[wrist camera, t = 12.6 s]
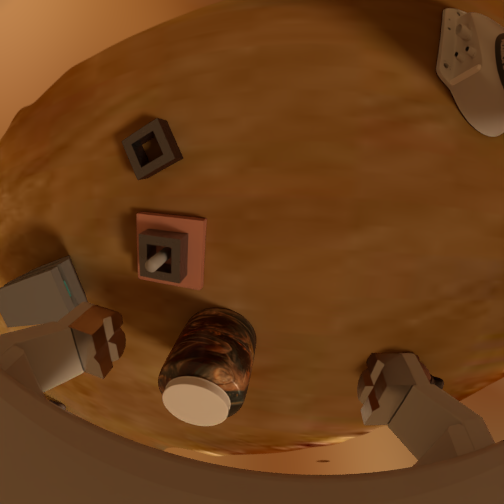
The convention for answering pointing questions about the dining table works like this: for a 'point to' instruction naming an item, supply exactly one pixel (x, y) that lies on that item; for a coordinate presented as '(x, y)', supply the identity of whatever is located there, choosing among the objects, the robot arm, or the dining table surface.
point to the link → (178, 254)
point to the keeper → (163, 254)
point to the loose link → (139, 156)
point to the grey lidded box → (42, 294)
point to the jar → (209, 367)
